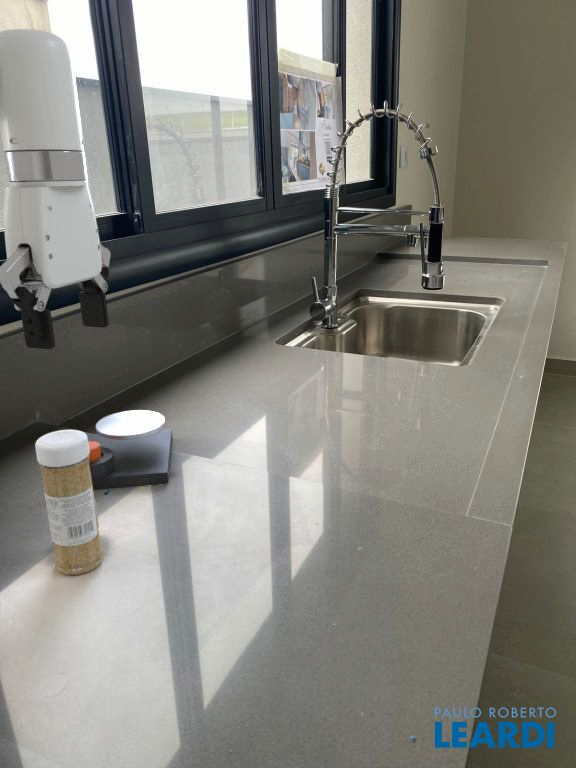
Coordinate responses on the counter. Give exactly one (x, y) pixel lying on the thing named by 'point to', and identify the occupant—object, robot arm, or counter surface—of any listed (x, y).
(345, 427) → the counter surface
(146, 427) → the weighing pan
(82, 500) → the spice jar
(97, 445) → the tare button
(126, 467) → the scale
